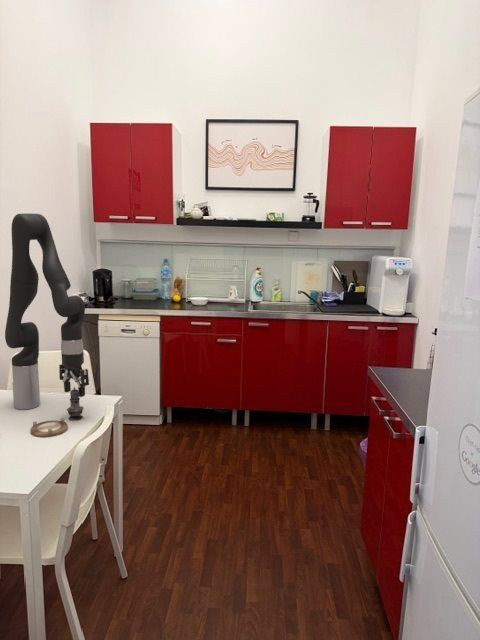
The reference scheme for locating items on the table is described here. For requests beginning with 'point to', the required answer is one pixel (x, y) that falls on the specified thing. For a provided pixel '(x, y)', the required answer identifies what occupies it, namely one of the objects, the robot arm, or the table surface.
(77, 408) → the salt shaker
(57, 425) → the pin holder
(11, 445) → the table surface
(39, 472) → the table surface
